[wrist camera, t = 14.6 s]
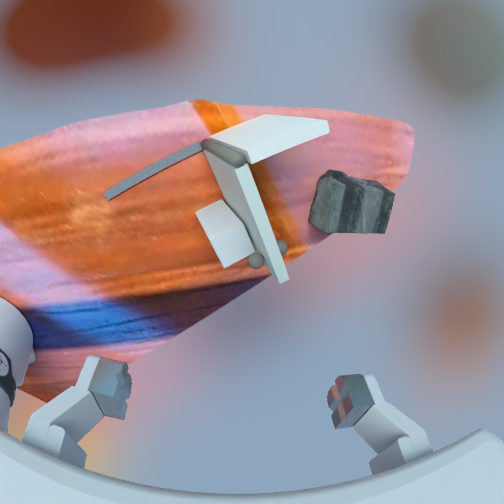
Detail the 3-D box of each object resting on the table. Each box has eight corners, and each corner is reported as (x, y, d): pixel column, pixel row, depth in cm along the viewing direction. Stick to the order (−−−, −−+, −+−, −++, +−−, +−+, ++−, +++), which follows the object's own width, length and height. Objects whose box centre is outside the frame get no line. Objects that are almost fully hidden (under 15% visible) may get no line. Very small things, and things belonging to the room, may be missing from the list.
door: (258, 224, 40) (303, 270, 30) (229, 239, 40) (265, 292, 29) (221, 131, 32) (262, 142, 21) (186, 147, 31) (209, 166, 21)
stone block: (317, 167, 40) (338, 175, 36) (378, 178, 46) (398, 186, 41) (306, 221, 44) (324, 234, 40) (367, 222, 50) (385, 234, 45)
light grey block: (231, 222, 39) (255, 252, 32) (206, 235, 39) (224, 268, 31) (221, 198, 37) (243, 223, 30) (195, 212, 36) (210, 241, 29)
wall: (108, 199, 31) (90, 250, 20) (103, 192, 30) (82, 239, 19) (267, 122, 34) (329, 132, 22) (264, 114, 33) (326, 120, 22)
